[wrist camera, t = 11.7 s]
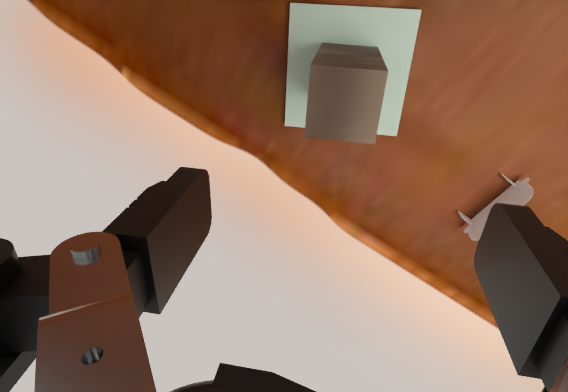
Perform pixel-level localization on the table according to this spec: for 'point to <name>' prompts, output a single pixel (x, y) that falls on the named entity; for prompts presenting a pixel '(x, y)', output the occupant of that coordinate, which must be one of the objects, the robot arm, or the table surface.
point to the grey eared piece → (513, 195)
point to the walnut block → (345, 93)
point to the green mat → (351, 31)
